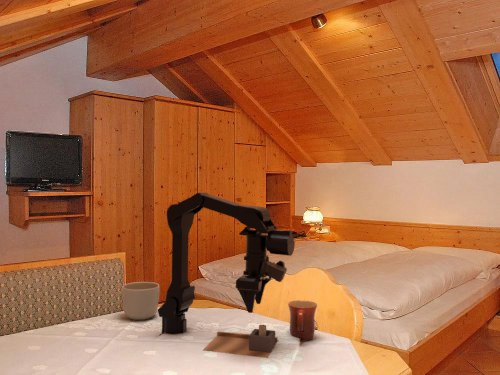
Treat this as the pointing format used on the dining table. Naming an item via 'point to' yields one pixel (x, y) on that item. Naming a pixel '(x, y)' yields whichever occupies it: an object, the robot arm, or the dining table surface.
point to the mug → (302, 319)
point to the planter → (140, 300)
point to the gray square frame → (262, 341)
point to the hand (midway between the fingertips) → (254, 308)
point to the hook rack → (236, 343)
